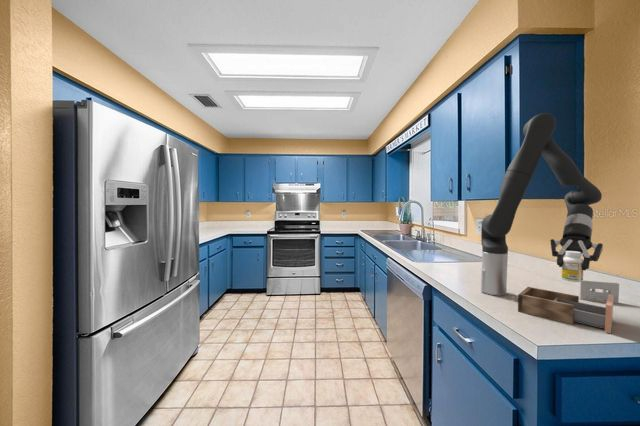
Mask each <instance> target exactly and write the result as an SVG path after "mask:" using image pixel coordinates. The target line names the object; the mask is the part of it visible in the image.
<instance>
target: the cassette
mask: <svg viewBox="0 0 640 426" xmlns="http://www.w3.org/2000/svg"><path fill="white" fill-rule="evenodd" d="M596 290H602V291H596ZM608 295H614V300H613V304H618V303H619V297H620V283H618V282H612V281H611V282H609V281H596V280H584V279H583V281H582V282H579V294H578V296H579V300H580V301H581V300H583V301H588V302H589V301H590V302H601V303H607V299H608Z"/></svg>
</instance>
